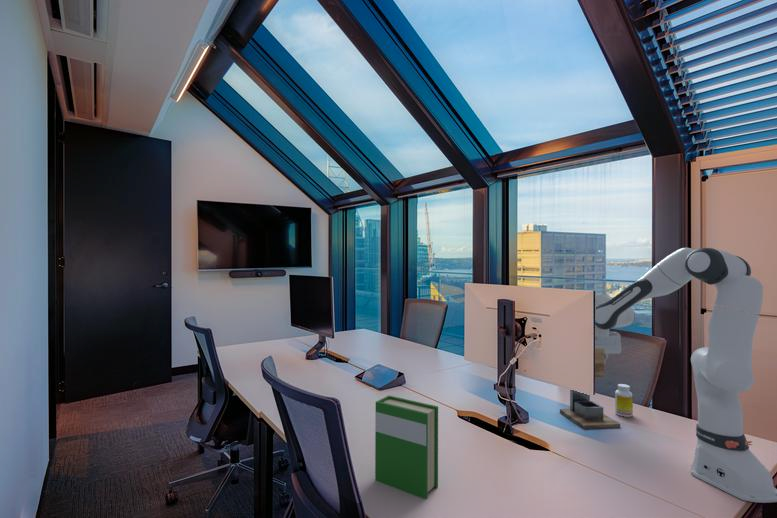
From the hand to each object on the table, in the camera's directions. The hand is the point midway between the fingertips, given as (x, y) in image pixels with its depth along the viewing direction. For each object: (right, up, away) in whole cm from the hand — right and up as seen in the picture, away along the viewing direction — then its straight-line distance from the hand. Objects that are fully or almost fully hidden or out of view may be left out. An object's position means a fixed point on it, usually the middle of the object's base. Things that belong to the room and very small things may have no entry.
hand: (596, 363), depth 171 cm
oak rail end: (0, -5, 0) cm, 5 cm away
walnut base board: (-3, -24, +1) cm, 24 cm away
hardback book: (-83, -24, -50) cm, 100 cm away
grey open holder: (-3, -23, +3) cm, 23 cm away
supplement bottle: (+16, -24, +7) cm, 30 cm away
